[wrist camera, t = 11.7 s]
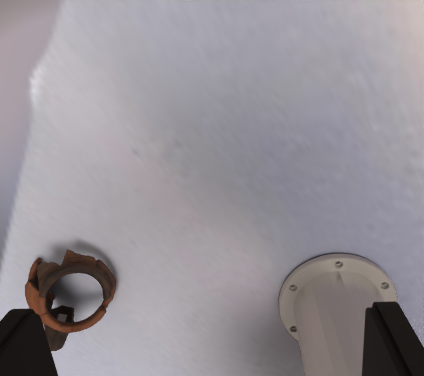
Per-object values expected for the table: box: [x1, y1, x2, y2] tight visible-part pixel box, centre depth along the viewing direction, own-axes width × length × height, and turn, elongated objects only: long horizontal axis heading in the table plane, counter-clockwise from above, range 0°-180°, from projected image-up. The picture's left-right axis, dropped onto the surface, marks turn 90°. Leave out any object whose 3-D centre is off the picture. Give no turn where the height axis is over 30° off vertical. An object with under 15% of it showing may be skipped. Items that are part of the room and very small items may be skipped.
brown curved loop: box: [25, 250, 116, 351], centre depth 43 cm, size 12×9×8 cm
